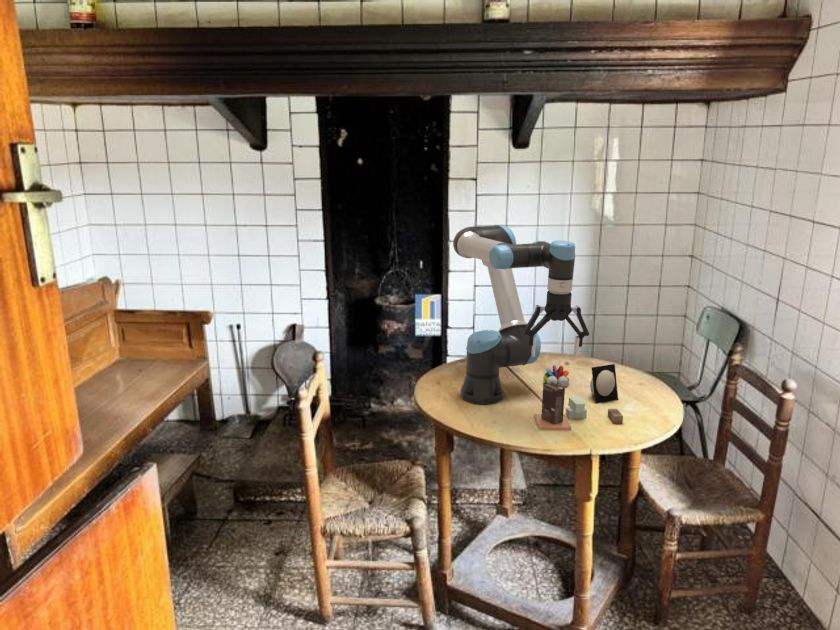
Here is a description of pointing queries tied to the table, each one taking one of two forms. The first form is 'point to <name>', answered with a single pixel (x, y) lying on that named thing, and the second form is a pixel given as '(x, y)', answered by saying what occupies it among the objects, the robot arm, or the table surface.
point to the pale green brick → (576, 404)
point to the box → (553, 403)
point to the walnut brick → (615, 416)
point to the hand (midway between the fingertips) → (554, 355)
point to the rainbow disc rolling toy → (557, 376)
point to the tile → (549, 426)
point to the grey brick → (575, 414)
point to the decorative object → (604, 383)
